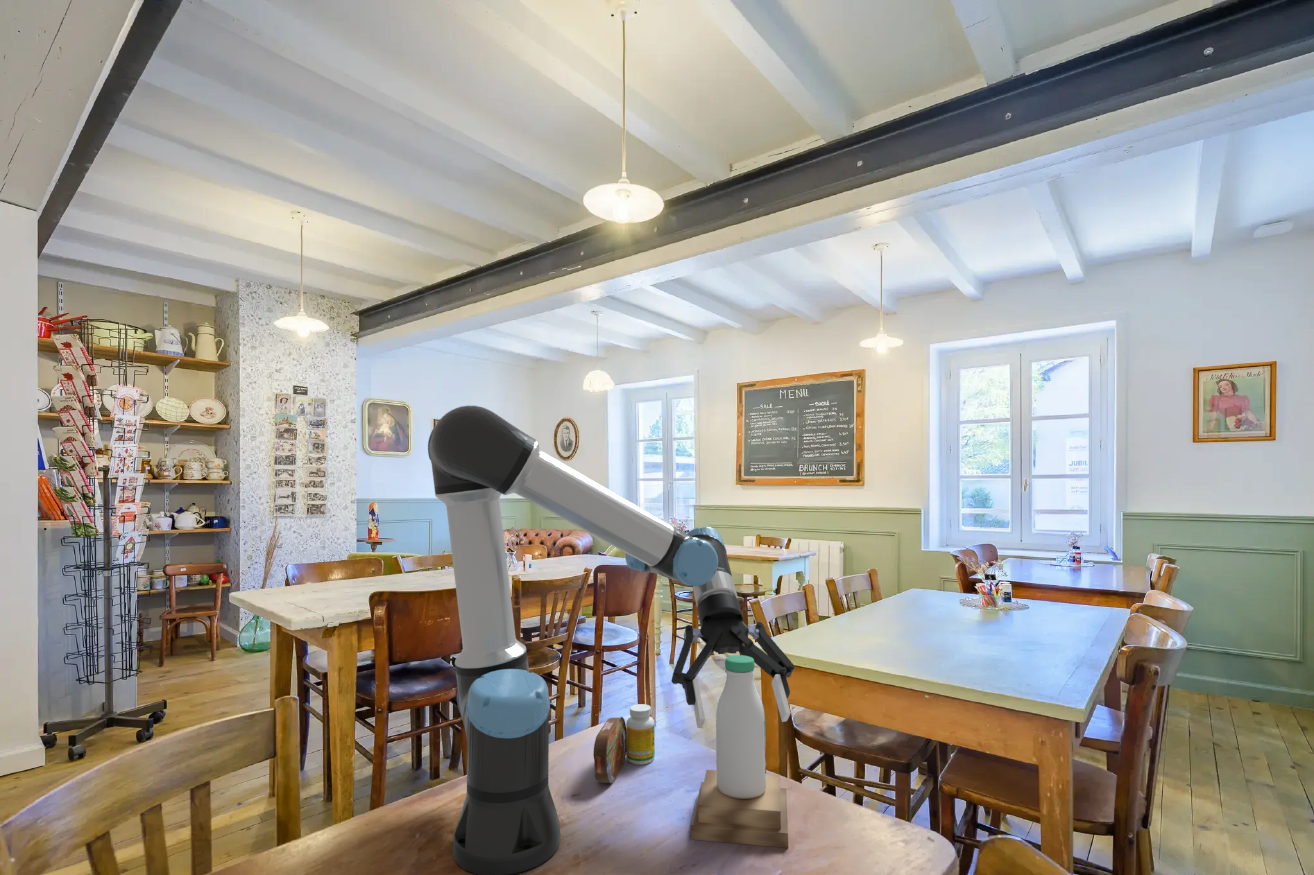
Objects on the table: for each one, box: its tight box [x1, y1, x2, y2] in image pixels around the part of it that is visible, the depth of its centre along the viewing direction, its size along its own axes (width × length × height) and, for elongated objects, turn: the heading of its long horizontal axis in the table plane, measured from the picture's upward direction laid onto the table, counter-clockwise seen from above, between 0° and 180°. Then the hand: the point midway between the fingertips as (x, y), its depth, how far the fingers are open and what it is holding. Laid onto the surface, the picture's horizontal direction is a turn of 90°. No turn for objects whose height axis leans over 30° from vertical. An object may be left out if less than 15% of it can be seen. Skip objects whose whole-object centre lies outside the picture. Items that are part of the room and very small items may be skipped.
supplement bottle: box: [625, 703, 656, 765], centre depth 125 cm, size 5×5×10 cm
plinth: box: [690, 769, 789, 849], centre depth 102 cm, size 14×14×4 cm
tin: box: [593, 716, 627, 784], centre depth 119 cm, size 15×3×8 cm, turn 169°
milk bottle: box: [715, 654, 767, 799], centre depth 103 cm, size 8×8×20 cm
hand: (744, 721), depth 101 cm, fingers open, 13 cm apart
